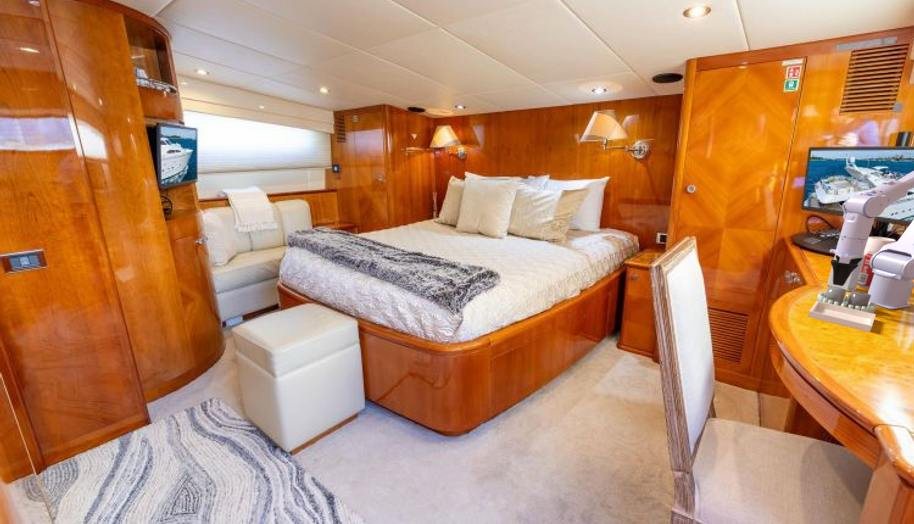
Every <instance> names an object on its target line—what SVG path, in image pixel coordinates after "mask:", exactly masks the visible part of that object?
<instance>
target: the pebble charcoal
mask: <svg viewBox="0 0 914 524" xmlns="http://www.w3.org/2000/svg"><path fill="white" fill-rule="evenodd" d="M870 297H871V295H870V294H868V292H863V291H858V290H854V291H850V298H849V301H848V304H847V307H848V306H849V305H853V306H854V307H853V309H855V307H856V306H860V307H861V308H862V306H865V307H867V306H868V303H869V300H870ZM861 308H860V311H861Z"/></svg>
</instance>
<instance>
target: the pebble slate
mask: <svg viewBox="0 0 914 524" xmlns="http://www.w3.org/2000/svg"><path fill="white" fill-rule="evenodd" d="M825 292H826V296H825V298H828V300H833V303H832V304H833V305H834V302H839V305H841V304H842V303H843V300H845V298H846V295H847V292H848V291H847V290H845V289H843V288H839V287H831V286H828V287H827V290H826V291H825ZM827 303H828V301H827Z"/></svg>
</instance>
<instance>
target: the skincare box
mask: <svg viewBox="0 0 914 524" xmlns="http://www.w3.org/2000/svg"><path fill="white" fill-rule="evenodd" d="M834 254H835V253H834ZM864 259H865V256H863V257H862V260H861V261H860V262H859V263H858V267H857V268H855V269H854V270H853V271H852V272H851V274H850V276H849V277H848V279H847V281H846V282H845V284H844V285H843V286H839V285H834V284H833V267H832V266H831V269H830V271H829V272H830V273H829V276H828V281H827V286H828V285H829V286H828V287H831V286H832V287H839V288H843V289H845V290H847V291H846V292H852V291H853V290H854V291H857V287H858V286H857V283H858V279H859V276H860V272H861V269H862V266H863V262H864ZM833 260H837V259H836V254H835V255H834V257H833Z"/></svg>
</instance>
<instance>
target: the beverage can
mask: <svg viewBox="0 0 914 524" xmlns="http://www.w3.org/2000/svg"><path fill="white" fill-rule="evenodd" d="M875 253H876V252H868V253H867V254H866V255H864V256H865V259H864V262H863V266H862V269H861V272H860V276H859V279H858V283H857V285H858V286H857V287H859V288H862V289H865V290H869V288H870V285H871V282H872V279H873V276H874V272H872V270H873V269H872V268H871V267H870V259H871V257H872V256H873V255H874V254H875Z"/></svg>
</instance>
